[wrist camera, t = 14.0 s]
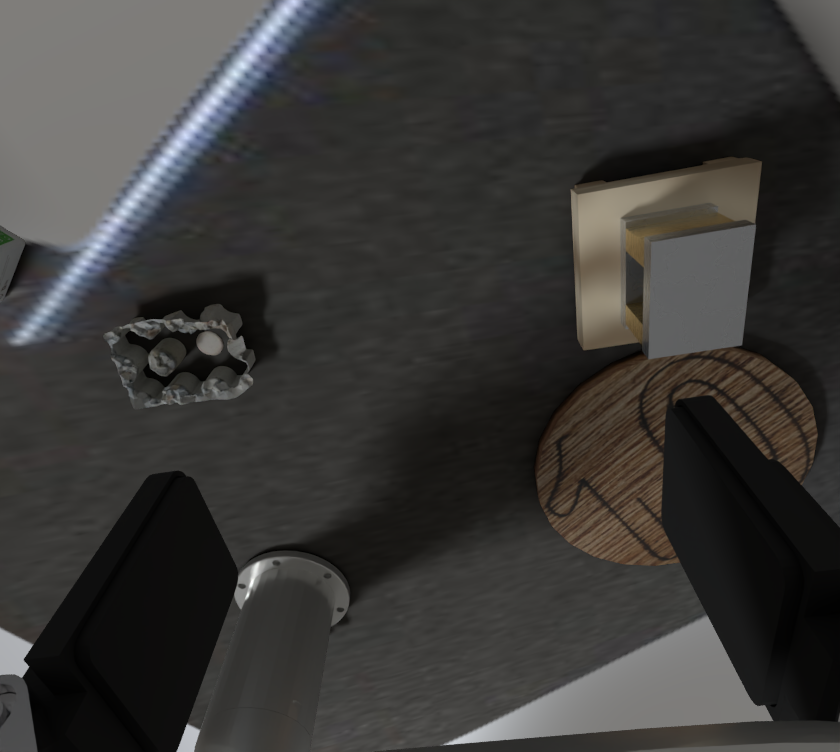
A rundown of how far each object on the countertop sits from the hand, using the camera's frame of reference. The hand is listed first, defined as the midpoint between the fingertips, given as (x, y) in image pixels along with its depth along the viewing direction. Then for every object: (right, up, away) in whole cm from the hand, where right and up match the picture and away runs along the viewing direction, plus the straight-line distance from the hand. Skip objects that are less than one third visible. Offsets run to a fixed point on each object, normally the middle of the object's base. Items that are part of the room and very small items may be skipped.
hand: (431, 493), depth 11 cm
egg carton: (-20, +5, +36) cm, 41 cm away
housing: (+17, +10, +29) cm, 35 cm away
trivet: (+23, -5, +42) cm, 48 cm away
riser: (+17, +12, +31) cm, 38 cm away
